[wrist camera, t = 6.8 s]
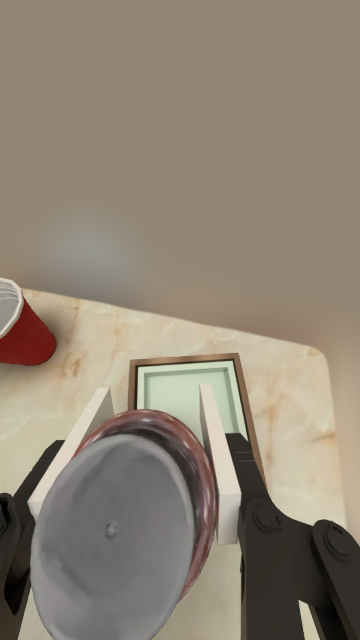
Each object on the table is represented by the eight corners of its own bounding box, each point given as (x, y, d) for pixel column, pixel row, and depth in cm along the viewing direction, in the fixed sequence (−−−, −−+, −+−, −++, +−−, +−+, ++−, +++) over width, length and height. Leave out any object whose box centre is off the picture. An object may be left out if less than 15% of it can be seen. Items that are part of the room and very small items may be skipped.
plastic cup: (39, 309, 36) (-19, 262, 26) (85, 335, 34) (41, 295, 23) (-13, 360, 32) (-109, 329, 21) (36, 395, 30) (-45, 379, 19)
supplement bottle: (190, 531, 13) (214, 870, 3) (105, 501, 14) (-101, 694, 4) (206, 429, 16) (247, 428, 6) (135, 409, 16) (62, 379, 7)
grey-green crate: (140, 480, 24) (135, 488, 21) (142, 373, 30) (138, 367, 27) (245, 471, 25) (255, 477, 22) (227, 367, 31) (232, 360, 28)
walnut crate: (129, 494, 24) (123, 503, 22) (134, 365, 32) (129, 359, 29) (258, 483, 25) (267, 490, 22) (233, 358, 32) (238, 352, 30)
